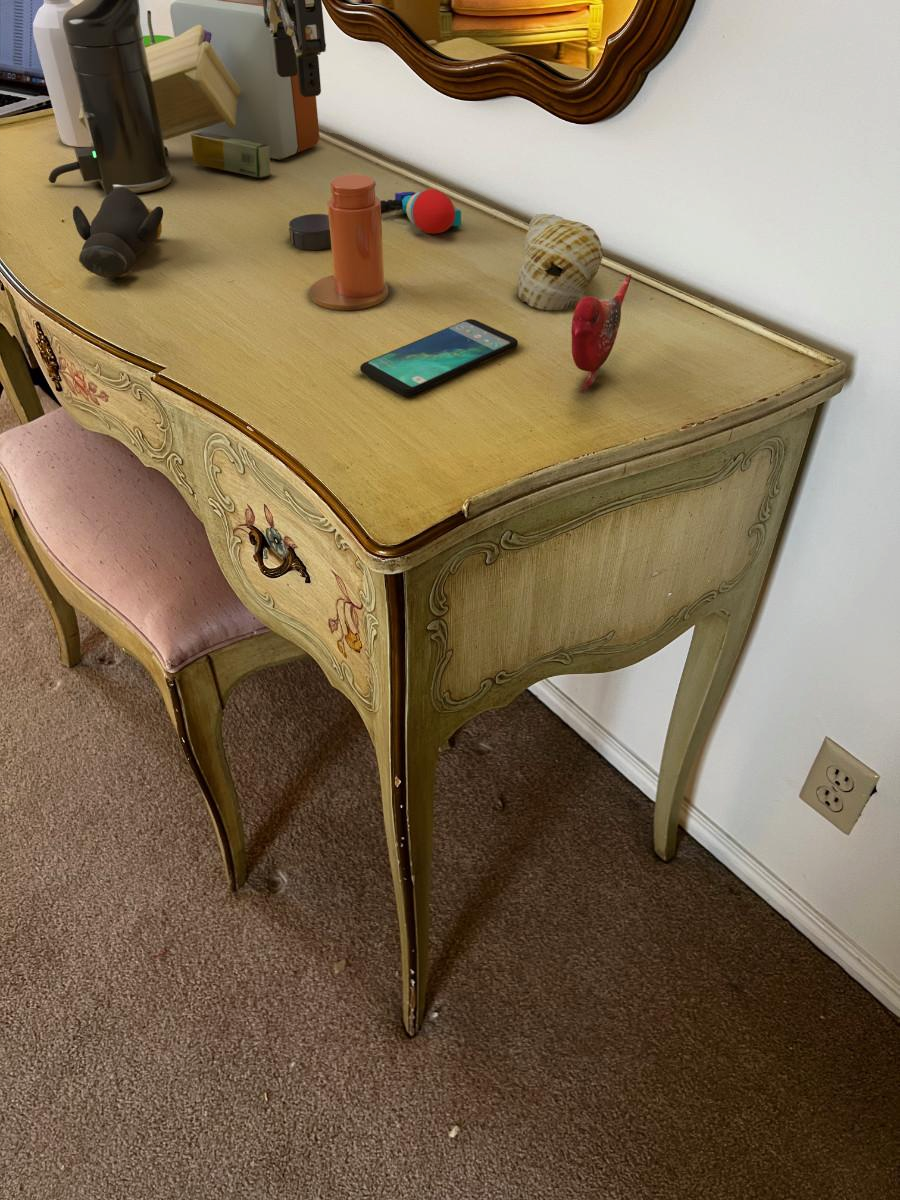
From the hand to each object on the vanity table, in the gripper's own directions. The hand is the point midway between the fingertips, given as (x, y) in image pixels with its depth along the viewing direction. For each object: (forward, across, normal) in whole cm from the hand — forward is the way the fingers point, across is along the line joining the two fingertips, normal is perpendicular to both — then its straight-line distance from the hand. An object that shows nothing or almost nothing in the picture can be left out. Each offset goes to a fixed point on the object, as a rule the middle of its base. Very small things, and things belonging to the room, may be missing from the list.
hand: (298, 85), depth 101 cm
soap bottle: (+18, -52, -20) cm, 58 cm away
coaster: (+16, +17, -1) cm, 24 cm away
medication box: (+17, -28, -3) cm, 33 cm away
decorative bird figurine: (+16, +43, +14) cm, 48 cm away
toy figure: (+17, +1, +14) cm, 22 cm away
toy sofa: (+11, -33, -12) cm, 36 cm away
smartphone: (+16, +35, +2) cm, 39 cm away
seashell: (+16, +25, +20) cm, 36 cm away
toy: (+13, -9, -19) cm, 25 cm away
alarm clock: (+17, -38, +3) cm, 42 cm away
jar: (+16, +17, 0) cm, 23 cm away
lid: (+15, +1, 0) cm, 15 cm away
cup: (+18, -63, -6) cm, 66 cm away
